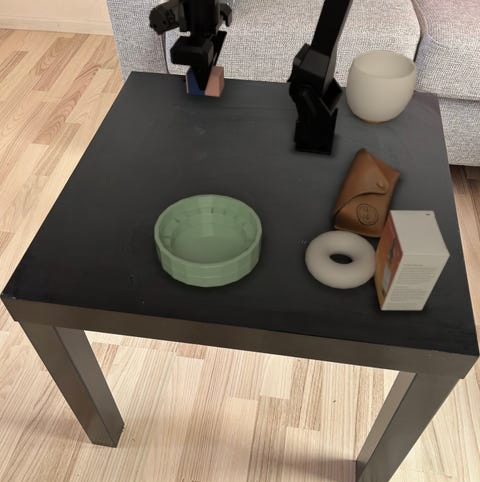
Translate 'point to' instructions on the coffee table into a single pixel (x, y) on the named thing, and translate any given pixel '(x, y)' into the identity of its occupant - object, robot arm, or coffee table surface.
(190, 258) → the bowl
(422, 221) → the small box
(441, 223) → the coffee table surface
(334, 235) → the donut
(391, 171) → the sunglasses case
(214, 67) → the eraser
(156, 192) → the coffee table surface
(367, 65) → the cup
